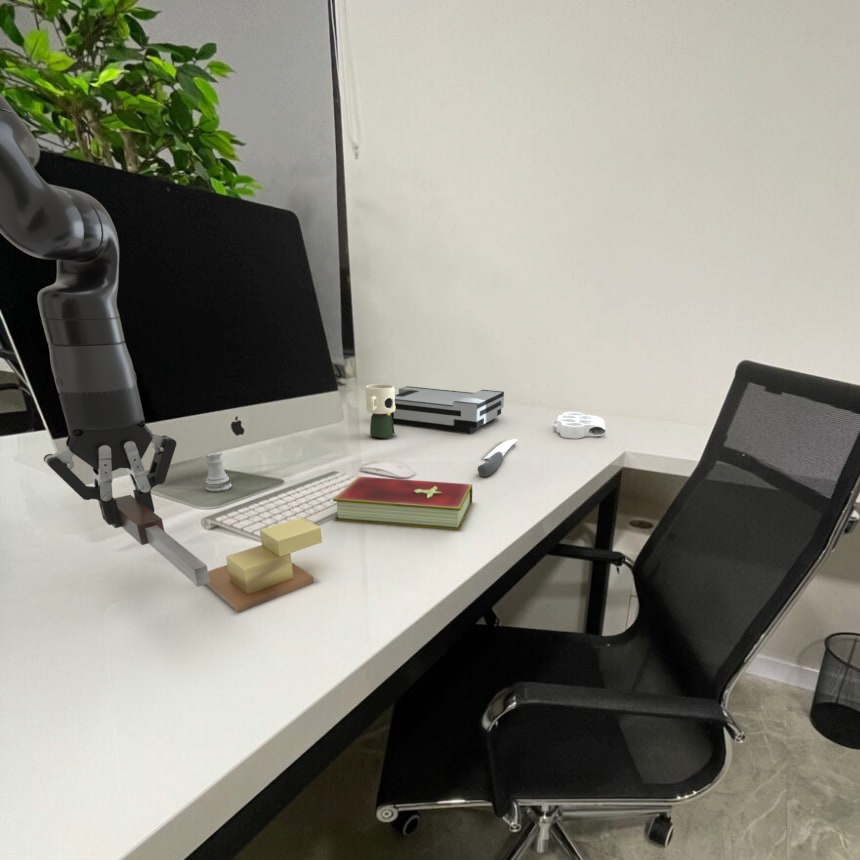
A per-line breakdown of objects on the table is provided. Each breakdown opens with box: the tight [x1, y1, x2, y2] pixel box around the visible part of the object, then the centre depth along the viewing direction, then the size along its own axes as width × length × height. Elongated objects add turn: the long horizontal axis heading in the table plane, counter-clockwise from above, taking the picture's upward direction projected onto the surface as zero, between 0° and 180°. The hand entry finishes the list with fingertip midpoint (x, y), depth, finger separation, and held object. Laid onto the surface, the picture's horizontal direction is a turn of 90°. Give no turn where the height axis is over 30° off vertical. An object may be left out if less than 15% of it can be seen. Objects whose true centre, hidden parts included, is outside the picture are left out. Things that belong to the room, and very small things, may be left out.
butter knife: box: [113, 494, 210, 588], centre depth 63 cm, size 3×25×3 cm, turn 48°
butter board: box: [205, 544, 315, 613], centre depth 71 cm, size 10×11×4 cm
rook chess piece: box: [205, 451, 233, 493], centre depth 102 cm, size 4×4×8 cm
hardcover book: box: [332, 476, 473, 532], centre depth 95 cm, size 12×21×4 cm, turn 83°
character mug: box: [365, 383, 396, 439], centre depth 139 cm, size 11×7×13 cm, turn 167°
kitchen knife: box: [477, 439, 518, 478], centre depth 127 cm, size 29×3×5 cm
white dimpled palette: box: [551, 411, 607, 440], centre depth 153 cm, size 3×18×15 cm
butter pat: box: [259, 517, 323, 557], centre depth 73 cm, size 6×5×2 cm
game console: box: [391, 385, 505, 434], centre depth 158 cm, size 21×32×8 cm, turn 70°
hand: (130, 521), depth 69 cm, fingers closed on butter knife, 2 cm apart
